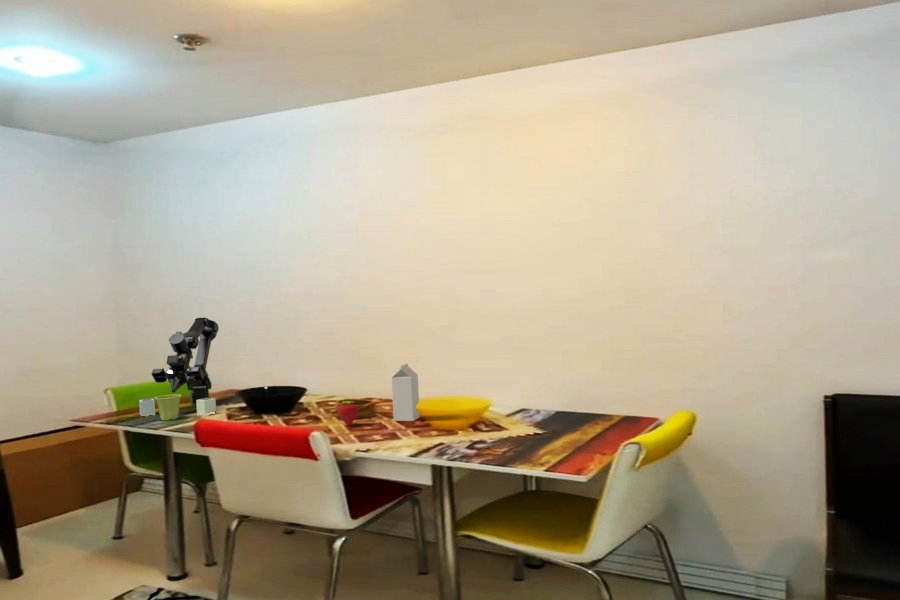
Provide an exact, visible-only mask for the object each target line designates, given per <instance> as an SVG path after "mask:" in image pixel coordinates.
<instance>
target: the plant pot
mask: <svg viewBox="0 0 900 600" xmlns="http://www.w3.org/2000/svg"><path fill="white" fill-rule="evenodd" d="M181 397H182V394H174V393H173V394H165V395H160V396H155V397H154V400H156V404H157V409H158V411H159V417H160V421H169V420H172V421H173V420H176V419H178V418H179V415H180V413H179V412H180V401H181Z"/></svg>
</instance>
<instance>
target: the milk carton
mask: <svg viewBox="0 0 900 600" xmlns="http://www.w3.org/2000/svg"><path fill="white" fill-rule="evenodd" d="M394 372H395V374H394V375H393V376H392V377H391V389H392V391H391V392H392V394H391V395H392V411H393V421H394V422H415V421H416V420H418V419H420V416H421V415H420V414H421V413H420V412H419V413H418V411H416V405H417V404H418V403H419V404H420V396H419V377H418V376H419V375H418V373H417V372H415V371H414V370H413V369H412V368H411V367H409V363H405V364H402V365H400V367H398V368H396V370H395V371H394Z"/></svg>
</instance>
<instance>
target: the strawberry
mask: <svg viewBox="0 0 900 600" xmlns="http://www.w3.org/2000/svg"><path fill="white" fill-rule="evenodd" d="M344 398H345V401H342V402H341V403H340V404H338V407H337V413H338V417H339V418H340V419H341V420H342V421H343V423H344V424H345V425H346V426H348V427H349V426H351V425H352V424H353V422H354V421H355V420H356V418H357V417H358V413H359V407H358V405H357V404H354V403H355V401H351V400H348V399H347V397H346V396H344ZM347 400H348V401H347Z"/></svg>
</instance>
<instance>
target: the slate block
mask: <svg viewBox="0 0 900 600" xmlns="http://www.w3.org/2000/svg"><path fill="white" fill-rule="evenodd" d="M138 401H139V416H140V415H141V416H145V417H150V416H149V415H153V416H156V407H155V406H156V405H155V404H156V403H155V398H143V399H139V400H138ZM141 416H140V417H141Z"/></svg>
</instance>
